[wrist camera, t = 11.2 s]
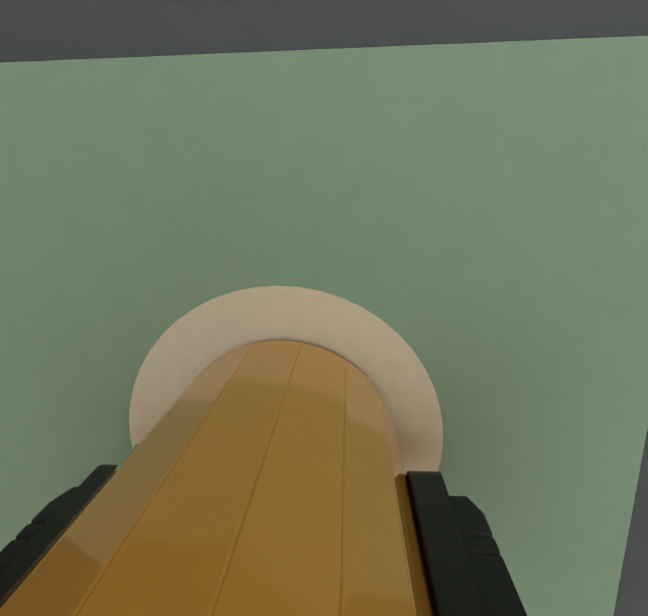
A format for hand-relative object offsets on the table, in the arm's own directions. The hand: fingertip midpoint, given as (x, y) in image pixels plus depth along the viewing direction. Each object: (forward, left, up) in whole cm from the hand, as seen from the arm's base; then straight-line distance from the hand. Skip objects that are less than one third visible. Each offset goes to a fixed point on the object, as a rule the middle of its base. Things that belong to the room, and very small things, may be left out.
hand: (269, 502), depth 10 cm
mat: (0, 0, -3) cm, 3 cm away
